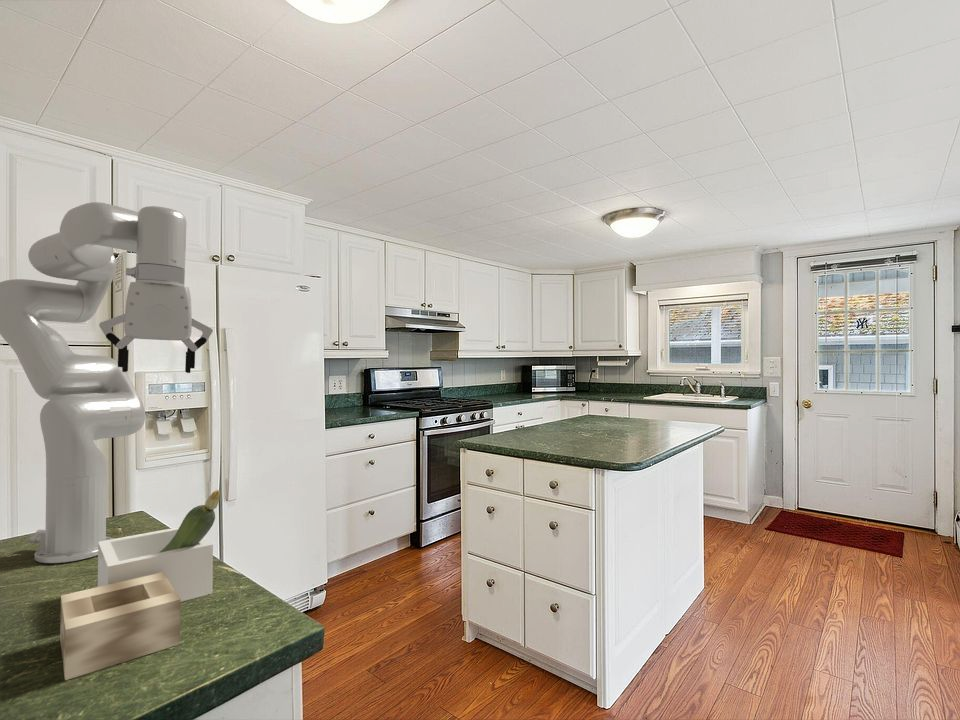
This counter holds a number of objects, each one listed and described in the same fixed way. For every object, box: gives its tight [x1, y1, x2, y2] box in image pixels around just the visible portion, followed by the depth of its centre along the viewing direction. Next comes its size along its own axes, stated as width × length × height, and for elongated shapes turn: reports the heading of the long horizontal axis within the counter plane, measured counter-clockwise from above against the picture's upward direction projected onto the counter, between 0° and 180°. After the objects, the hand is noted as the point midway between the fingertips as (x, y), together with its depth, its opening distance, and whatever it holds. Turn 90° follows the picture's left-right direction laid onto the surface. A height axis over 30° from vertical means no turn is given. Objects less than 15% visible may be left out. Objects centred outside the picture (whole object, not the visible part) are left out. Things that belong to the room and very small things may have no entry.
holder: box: [59, 572, 182, 681], centre depth 69 cm, size 12×12×6 cm
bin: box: [97, 526, 214, 603], centre depth 84 cm, size 14×14×8 cm
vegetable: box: [159, 489, 221, 553], centre depth 84 cm, size 4×4×20 cm
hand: (157, 372), depth 92 cm, fingers open, 9 cm apart
